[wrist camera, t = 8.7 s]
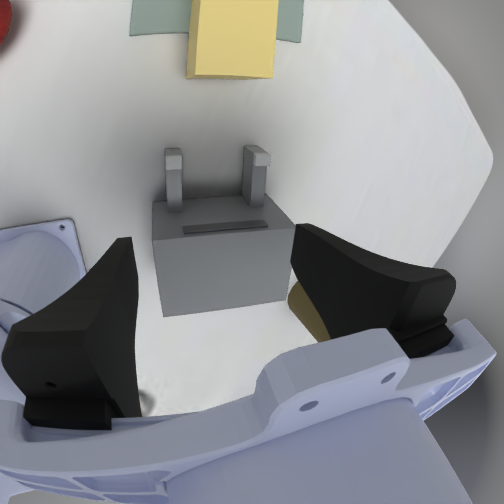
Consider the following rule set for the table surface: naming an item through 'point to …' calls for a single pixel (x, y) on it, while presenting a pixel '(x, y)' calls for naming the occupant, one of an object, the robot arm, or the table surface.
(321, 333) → the cork
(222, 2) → the tall tan block
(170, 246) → the grey boxy piece
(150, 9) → the mat
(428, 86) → the table surface
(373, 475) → the robot arm
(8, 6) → the onion
